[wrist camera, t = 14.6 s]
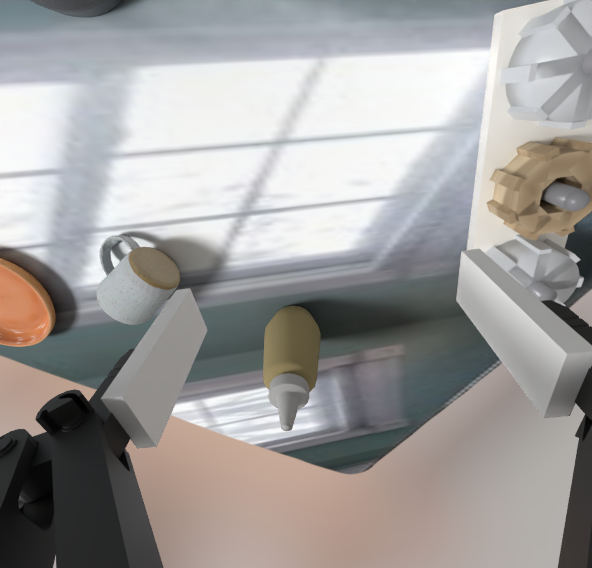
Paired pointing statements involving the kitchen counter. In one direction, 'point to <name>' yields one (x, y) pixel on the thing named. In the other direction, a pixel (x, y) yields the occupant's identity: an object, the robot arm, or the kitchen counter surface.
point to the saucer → (23, 307)
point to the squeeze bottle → (290, 361)
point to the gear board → (534, 132)
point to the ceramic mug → (135, 282)
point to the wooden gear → (542, 187)
